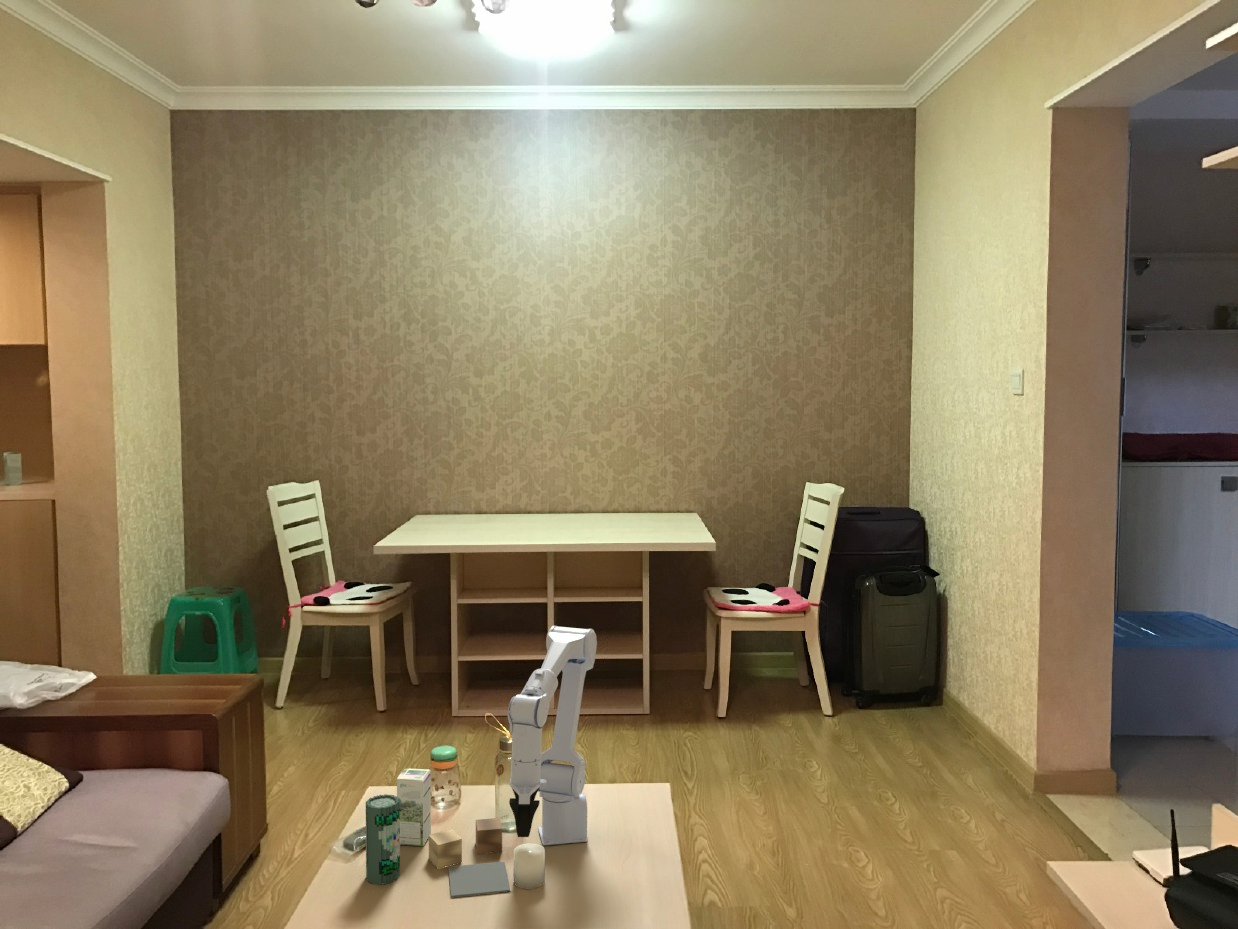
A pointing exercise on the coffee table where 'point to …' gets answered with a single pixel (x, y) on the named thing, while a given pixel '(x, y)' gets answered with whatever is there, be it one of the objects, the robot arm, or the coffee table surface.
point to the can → (382, 839)
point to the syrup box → (414, 806)
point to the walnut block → (488, 835)
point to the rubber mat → (478, 879)
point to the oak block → (445, 848)
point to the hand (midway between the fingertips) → (523, 828)
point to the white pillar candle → (529, 865)
